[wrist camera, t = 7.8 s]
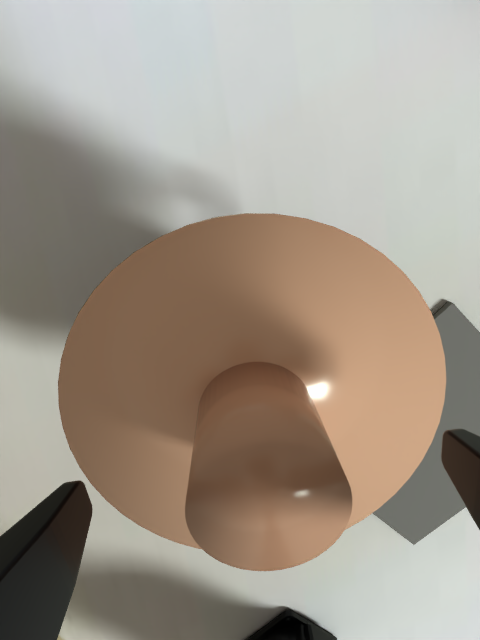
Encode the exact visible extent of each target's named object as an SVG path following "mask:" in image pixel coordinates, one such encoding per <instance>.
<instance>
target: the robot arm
mask: <svg viewBox="0 0 480 640" xmlns="http://www.w3.org/2000/svg"><path fill="white" fill-rule="evenodd" d="M441 460H442V464H443V467H444V469H445V470H446V472H447V474H448V476H449V477H450V479H451V481H452V483H453V484H454V486H455V488H456V490H457V491H458V493H459V495H460V497H461V499H462V500H463V502H464V504H465V506H466V507H467V509H468V511H469V513H470V514H471V516H472V518H473V520H474V521H475V523H476V525H477V526H478V528H479V530H480V436H478V435H476V434H474V433H471V432H469V431H467V430H465V429H460V428H459V429H451V430H446V431H445V432H444V433H443V437H442V451H441ZM91 517H92V504H91V501H90V499H89V496H88V493H87V490H86V487H85V485H84V483H83V482H82V481H72V482H66V483H64V484H62V485H61V486H60V487H59V488H57V489H56V490H55V491H54V492H53V493H51V494H50V495H49V496H48V497H47V498H46V499H44V500H43V501H42V502H41V503H40V504H38V505H37V506H36V507H35V508H34V509H32V510H31V511H30V512H29V513H28V514H27V515H25V516H24V517H23V518H22V519H21V520H19V521H18V522H17V523H16V524H15V525H13V526H12V527H11V528H10V529H9V530H7V531H6V532H5V533H4V534H3V535H2V536H0V640H57V638H58V635H59V632H60V629H61V626H62V623H63V620H64V617H65V614H66V611H67V608H68V605H69V602H70V599H71V596H72V593H73V590H74V587H75V583H76V580H77V576H78V572H79V568H80V564H81V559H82V555H83V551H84V547H85V542H86V538H87V534H88V530H89V526H90V521H91ZM247 640H337V638H336V637H335V636H333V635H331V634H330V633H328V632H326V631H325V630H323V629H321V628H320V627H318V626H316V625H315V624H313V623H311V622H310V621H308V620H306V619H305V618H303V617H301V616H300V615H298V614H296V613H295V612H293V611H291V610H287V611H285V612H283V613H282V614H281V615H279V616H278V617H277V618H275V619H274V620H273V621H271V622H270V623H269V624H267V625H266V626H265V627H263V628H262V629H261V630H259V631H258V632H257V633H255V634H254V635H253V636H251V637H250V638H249V639H247Z"/></svg>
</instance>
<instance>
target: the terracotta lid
mask: <svg viewBox="0 0 480 640" xmlns="http://www.w3.org/2000/svg"><path fill="white" fill-rule="evenodd" d="M445 389H446V366H445V355H444V350H443V346H442V341H441V337H440V333H439V331H438V328H437V325H436V323H435V320H434V318H433V315H432V313H431V311H430V309H429V307H428V306H427V304H426V302H425V301H424V299H423V297H422V296H421V294H420V292H419V291H418V289H417V288H416V287H415V286H414V285H413V283H412V282H411V281H410V280H409V278H408V277H407V276H406V275H405V274H404V272H403V271H402V270H401V269H399V268H398V267H397V266H396V265H395V264H394V263H393V262H392V261H390V260H389V259H388V258H387V257H386V256H385V255H384V254H382V253H381V252H379V251H378V250H376V249H375V248H373V247H372V246H370V245H369V244H367V243H366V242H364V241H363V240H361V239H359V238H357V237H355V236H353V235H351V234H348V233H346V232H344V231H342V230H340V229H338V228H335V227H333V226H329V225H326V224H322V223H319V222H316V221H312V220H309V219H305V218H300V217H293V216H286V215H280V214H263V213H244V214H236V215H228V216H220V217H215V218H211V219H207V220H203V221H200V222H196V223H192V224H189V225H186V226H184V227H182V228H179V229H177V230H175V231H172V232H170V233H168V234H165V235H163V236H161V237H159V238H157V239H156V240H154V241H152V242H151V243H149V244H147V245H146V246H144V247H142V248H141V249H139V250H137V251H136V252H134V253H133V254H132V255H130V256H129V257H128V258H127V259H125V260H124V261H123V262H122V263H121V264H119V265H118V266H117V267H116V268H114V269H113V270H112V271H111V272H110V273H109V274H108V275H107V277H106V278H105V279H104V280H103V281H102V282H101V283H100V284H99V285H98V286H97V287H96V289H95V290H94V291H93V292H92V294H91V295H90V297H89V298H88V300H87V301H86V303H85V304H84V306H83V307H82V309H81V310H80V312H79V313H78V315H77V318H76V320H75V322H74V324H73V326H72V328H71V330H70V332H69V335H68V337H67V341H66V344H65V348H64V351H63V355H62V358H61V364H60V372H59V380H58V394H59V409H60V415H61V420H62V426H63V429H64V432H65V435H66V438H67V441H68V444H69V447H70V449H71V451H72V453H73V455H74V457H75V459H76V461H77V463H78V465H79V467H80V468H81V470H82V471H83V473H84V474H85V475H86V477H87V478H88V480H89V481H90V483H91V484H92V485H93V486H94V487H95V489H96V490H97V491H98V492H99V493H100V494H101V495H102V496H103V497H104V498H105V500H106V501H108V502H109V503H110V504H111V505H112V506H113V507H115V508H116V509H117V510H118V511H119V512H120V513H122V514H123V515H124V516H126V517H127V518H129V519H130V520H132V521H133V522H135V523H136V524H138V525H139V526H141V527H143V528H145V529H147V530H149V531H151V532H153V533H155V534H157V535H159V536H161V537H164V538H166V539H169V540H172V541H174V542H177V543H180V544H184V545H187V546H191V547H195V548H198V549H203V550H204V551H205V552H206V553H207V554H209V555H210V556H212V557H213V558H215V559H216V560H218V561H220V562H222V563H225V564H227V565H230V566H233V567H236V568H240V569H245V570H253V571H273V570H281V569H286V568H290V567H294V566H297V565H300V564H303V563H305V562H307V561H310V560H311V559H313V558H315V557H317V556H319V555H320V554H322V553H323V552H324V551H326V550H327V549H328V548H329V547H330V546H332V545H333V544H334V543H335V542H336V540H337V539H338V538H339V537H340V536H341V534H342V533H343V531H344V530H346V529H347V528H349V527H351V526H353V525H354V524H356V523H358V522H360V521H361V520H363V519H364V518H366V517H367V516H369V515H370V514H371V513H373V512H374V511H376V510H377V509H379V508H380V507H381V506H382V505H383V504H384V503H386V502H387V501H388V500H389V499H390V498H391V497H392V496H393V495H395V494H396V493H397V491H398V490H399V489H400V488H401V487H402V486H403V485H404V484H405V483H406V481H407V480H408V479H409V478H410V477H411V475H412V474H413V473H414V471H415V470H416V468H417V467H418V466H419V464H420V463H421V461H422V460H423V458H424V456H425V454H426V452H427V450H428V448H429V447H430V445H431V443H432V441H433V438H434V435H435V433H436V430H437V428H438V425H439V422H440V418H441V414H442V410H443V405H444V401H445Z"/></svg>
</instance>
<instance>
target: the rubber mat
mask: <svg viewBox="0 0 480 640" xmlns="http://www.w3.org/2000/svg"><path fill="white" fill-rule="evenodd" d="M433 318H434V320H435V323H436V325H437V328H438V331H439V333H440V337H441V341H442V346H443V350H444V355H445V366H446V389H445V401H444V405H443V410H442V414H441V418H440V422H439V425H438V428H437V430H436V433H435V435H434V438H433V441H432V443H431V445H430V447H429V448H428V450H427V452H426V454H425V456H424V458H423V460H422V461H421V463H420V464H419V466H418V467H417V468H416V470H415V471H414V473H413V474H412V475H411V477H410V478H409V479H408V480H407V481H406V483H405V484H404V485H403V486H402V487H401V488H400V489H399V490H398V491H397V493H396V494H395V495H393V496H392V497H391V498H390V499H389V500H388V501H387V502H386V503H384V504H383V505H382V506H381V507H380V508H379V509H377V510H376V511H374V512H373V514H374V515H376V516H377V517H378V518H380V519H381V520H382V521H384V522H385V523H386V524H387V525H389V526H390V527H391V528H393V529H394V530H395V531H397V532H398V533H399V534H401V535H402V536H403V537H405V538H406V539H407V540H408V541H410V542H411V543H412V544H416V543H417V542H418V541H420V540H421V539H422V538H424V537H425V536H427V535H428V534H429V533H431V532H432V531H433V530H435V529H436V528H438V527H439V526H440V525H442V524H443V523H444V522H446V521H447V520H449V519H450V518H451V517H453V516H454V515H455V514H457V513H458V512H460V511H461V510H462V509H464V508H465V507H466V506H465V504H464V502H463V500H462V499H461V497H460V495H459V493H458V491H457V490H456V488H455V486H454V484H453V483H452V481H451V479H450V477H449V476H448V474H447V472H446V470H445V469H444V467H443V464H442V460H441V451H442V437H443V433H444V432H445V431H446V430H451V429H459V428H460V429H465V430H467V431H469V432H471V433H474V434H476V435H478V436H480V332H479V331H478V330H477V329H476V328H475V327H474V326H473V325H472V324H471V322H470V321H469V320H468V319H467V318H466V317H465V316H464V315H463V314H462V313H461V312H460V310H459V309H458V308H457V307H456V306H455V305H454V304H453V303H451V302H448V303H446V304H445V305H444V306H443V307H442V308H441V309H440V310H439V311H437V312H436V313H435V314H434V315H433Z"/></svg>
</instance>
